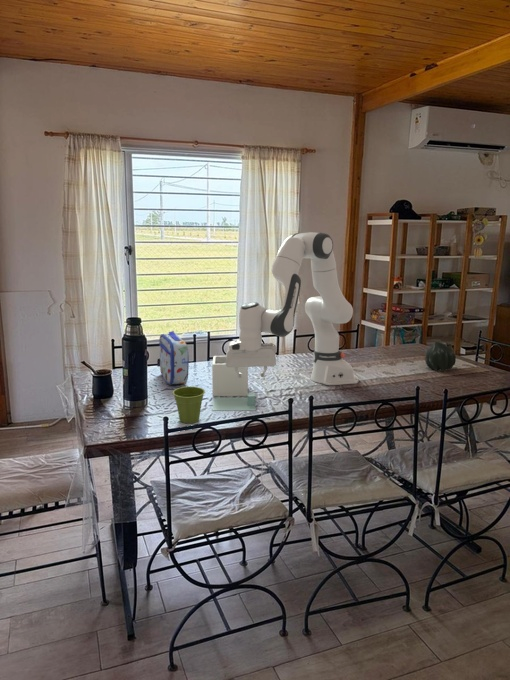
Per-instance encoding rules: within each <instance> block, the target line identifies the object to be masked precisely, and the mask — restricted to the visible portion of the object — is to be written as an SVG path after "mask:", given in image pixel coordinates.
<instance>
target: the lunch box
mask: <svg viewBox="0 0 510 680" xmlns="http://www.w3.org/2000/svg"><path fill="white" fill-rule="evenodd" d="M158 341H159V342H158V344H159V358H157V362H156V364H157V367H158V368H159V367H160V368H159V369H160V374H161V376H162V377H163V379H164V381H165V382H166V383H167V384H168V385H181V384H186V383H187V382H188V379H189V367H190V365H189V364H190V359H189V357H190V355H189V349H188V345H187V343H186V341H185V340H183V339H182V337H180V336H179V335H178V334H177V333H175V331H174V330H172V331H168V333H163V334H160V336H159V340H158Z"/></svg>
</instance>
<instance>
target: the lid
mask: <svg viewBox="0 0 510 680" xmlns="http://www.w3.org/2000/svg"><path fill="white" fill-rule="evenodd" d="M212 403H213V404H212V409H211V411H212V412H224V411H225V412H229V411H230V412H231V411H232V412H239V411H241V412H244V411H245V412H249V411H251V412H252V411H253V412H254V411H256V409H257V408H256V392H254V391H253V392H252V391H248V392H247V396H222V397H213V402H212Z"/></svg>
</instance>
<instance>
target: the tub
mask: <svg viewBox="0 0 510 680" xmlns="http://www.w3.org/2000/svg"><path fill="white" fill-rule="evenodd" d="M222 363H226V355H213V358H212V365H211V368H212V371H211V372H212V373H211V375H212V377H211V378H212V397H247V392H249V388H248V387H249V367H238V371H239V372H241V377H239V378H238V376H237V373H236V371H235V367H227V366H226V364H222Z"/></svg>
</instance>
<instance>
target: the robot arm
mask: <svg viewBox="0 0 510 680" xmlns="http://www.w3.org/2000/svg"><path fill="white" fill-rule="evenodd" d="M304 259H308V260H309V259H310V268H311V277H312V284H313V285H312V286H313V288H314V290H315V291H317V292H318V294H319V295H320V296H319V295H317V296H311V297H309V298H308V299H307V300H306V301H305V304H304V310H305V311H304V312H305V314H306V315H307V316H308V318H309V319H310V322H311V324H312V327H313V331H314V349H313V354H312V355H313V359H312V360H313V366H312V372H311V375H310V380H311V381H312V382H314V383H319V384H323V385H326V386H337V385H353V384H358V383H359V377H358V376H357V375H356V374H355V371H354V368H353V367H352V365H351V364H350V363H349V362H347V361H346V360H345V359H344V358H345V357H346V354H345V353H344V352H343V351H341V350H339V347H340V346H339V345H340V334H339V332H338V331H337V330H336V328H335V327H334V324H337V325H338V324H340V325H341V324H347V323H348V322H350V321H351V320H352V317H353V314H354V309H353V306H352V304H351V303H350V302H349V301H348V300H347V299H346V297H345V296H344V294H343V292H342V290H341V288H340V285H339V280H338V279H339V277H338V271H337V263H336V258H335V253H334V241H333V239H332V237H331V236H330V235H329V234H328V233H325V232H314V231H313V232H312V231H309V232H301V233H299V232H297V233H294V234H290V235H289V236H288V237H287V238H286V239H284V241H283V242H282V244H281V245H280V247H279V249H278V251H277V254H276V256H275V258H274V261H273V263H272V266H271V274H272V276H273V278H274V279H275V280H276V281H277V282H278V283H279V284H281V285H282V286H284V288H285V291H284V292H285V293H284V296H283V301H282V304H281V305H282V307H281V308H280V309H279V310H276V309H272V308H271V309H270V308H267V307H263V306H262V305H260V303H259V302H255V301H250V302H246V303H244V304H242V305H241V307H240V309H239V316H238V317H239V318H238V322H239V323H238V326H239V331H240V333H239V338H237V339H234V340H231V341H229V343H228V348H227V350H226V354H225V356H226V366H227V367H235V371H236V373H237V376H238V378H239V377H241V372H239V371H238V367H248V368H251V367H252V368H254V367H255V368H259V367H261V368H262V367H263V370H262V371H260V378H265V373H267V370H268V367H275V366H276V364H277V359H276V353H277V351H278V350H277V349H278V347H277V346H276V344H274V343H272V342H270V343H267V342H262V332H263V333H265V334H270V335H274V336H277V337H281V338H284V337H287V336H288V335H289V334H291V332H292V331H293V330H294V325H295V315H296V310H297V306H298V300H299V296H300V291H301V286H302V280H301V277H300V276H299V275H300V274H299V273H300V269H301V266H302V263H303V260H304Z"/></svg>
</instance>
